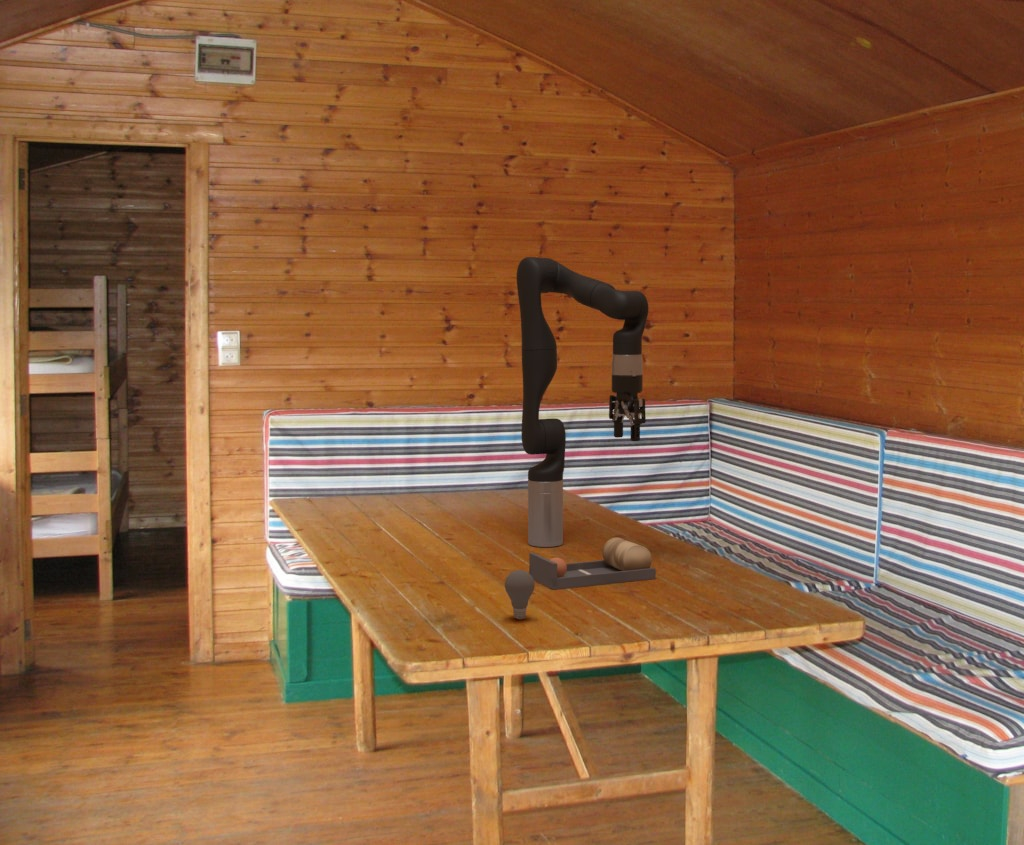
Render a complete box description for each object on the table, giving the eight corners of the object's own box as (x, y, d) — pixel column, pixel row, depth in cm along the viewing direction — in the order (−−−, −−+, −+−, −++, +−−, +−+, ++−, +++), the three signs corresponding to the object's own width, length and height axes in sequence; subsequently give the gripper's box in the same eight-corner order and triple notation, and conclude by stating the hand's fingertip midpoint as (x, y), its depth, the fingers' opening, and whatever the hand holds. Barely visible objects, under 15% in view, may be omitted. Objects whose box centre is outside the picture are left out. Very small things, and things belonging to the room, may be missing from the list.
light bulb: (533, 614, 238) (533, 566, 237) (535, 622, 232) (535, 573, 231) (504, 615, 238) (504, 567, 237) (505, 623, 232) (505, 573, 231)
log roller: (602, 567, 277) (602, 538, 277) (628, 565, 280) (628, 536, 279) (624, 577, 267) (625, 547, 266) (651, 574, 270) (651, 544, 269)
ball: (561, 574, 270) (542, 577, 268) (560, 554, 269) (541, 557, 267) (570, 579, 265) (551, 582, 263) (570, 558, 265) (550, 561, 263)
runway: (529, 577, 271) (529, 552, 270) (628, 567, 281) (628, 543, 281) (553, 589, 259) (553, 564, 259) (655, 578, 269) (655, 553, 269)
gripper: (599, 372, 290) (599, 437, 292) (627, 374, 277) (627, 443, 278) (626, 371, 293) (626, 435, 294) (655, 374, 280) (654, 441, 281)
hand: (626, 439), depth 286 cm, fingers open, 8 cm apart
